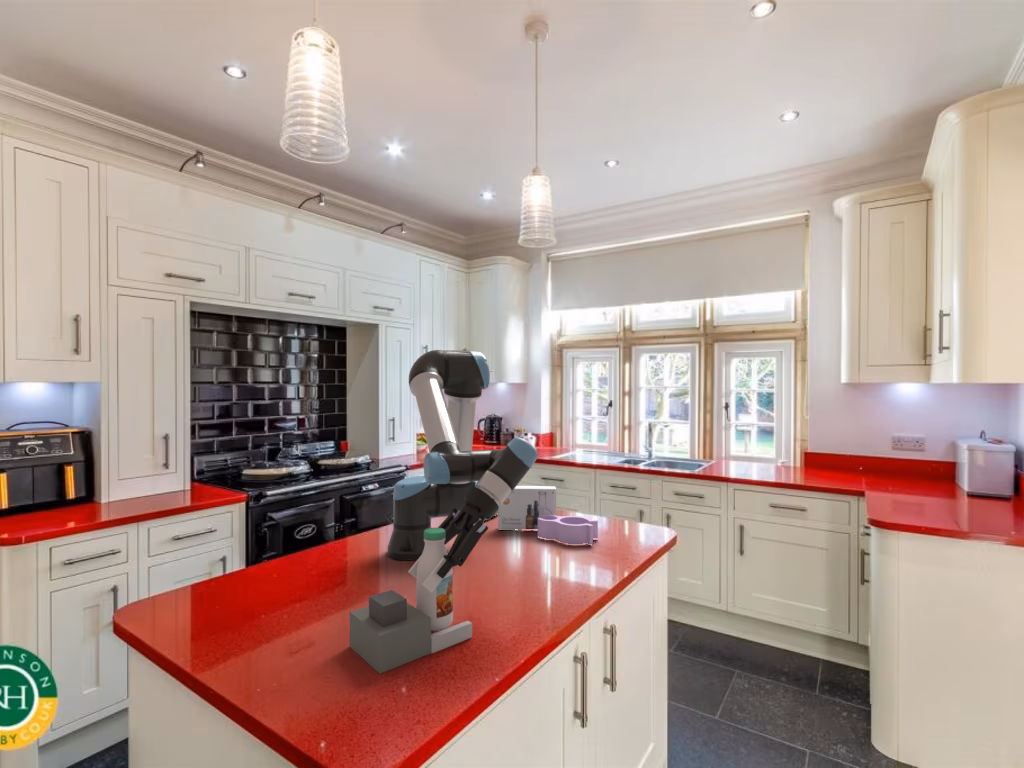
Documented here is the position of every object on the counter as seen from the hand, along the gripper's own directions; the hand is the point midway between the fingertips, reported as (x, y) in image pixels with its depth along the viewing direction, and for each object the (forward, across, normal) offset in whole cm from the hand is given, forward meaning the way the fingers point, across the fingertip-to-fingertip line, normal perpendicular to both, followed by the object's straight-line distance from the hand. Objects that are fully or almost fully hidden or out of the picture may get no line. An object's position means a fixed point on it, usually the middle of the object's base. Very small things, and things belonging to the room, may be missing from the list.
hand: (419, 582), depth 108 cm
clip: (-40, +39, -57) cm, 80 cm away
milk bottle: (+5, 0, -9) cm, 10 cm away
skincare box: (-36, +55, -53) cm, 85 cm away
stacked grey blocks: (+10, -1, -7) cm, 12 cm away
